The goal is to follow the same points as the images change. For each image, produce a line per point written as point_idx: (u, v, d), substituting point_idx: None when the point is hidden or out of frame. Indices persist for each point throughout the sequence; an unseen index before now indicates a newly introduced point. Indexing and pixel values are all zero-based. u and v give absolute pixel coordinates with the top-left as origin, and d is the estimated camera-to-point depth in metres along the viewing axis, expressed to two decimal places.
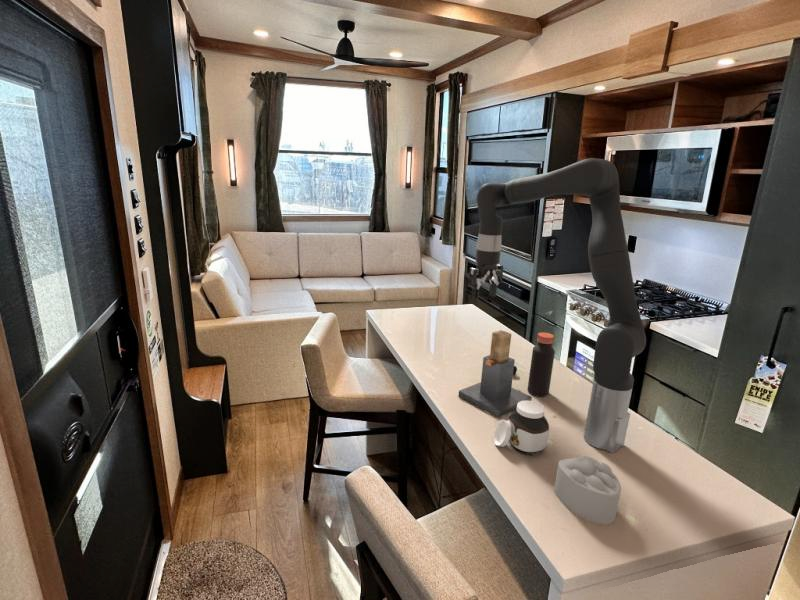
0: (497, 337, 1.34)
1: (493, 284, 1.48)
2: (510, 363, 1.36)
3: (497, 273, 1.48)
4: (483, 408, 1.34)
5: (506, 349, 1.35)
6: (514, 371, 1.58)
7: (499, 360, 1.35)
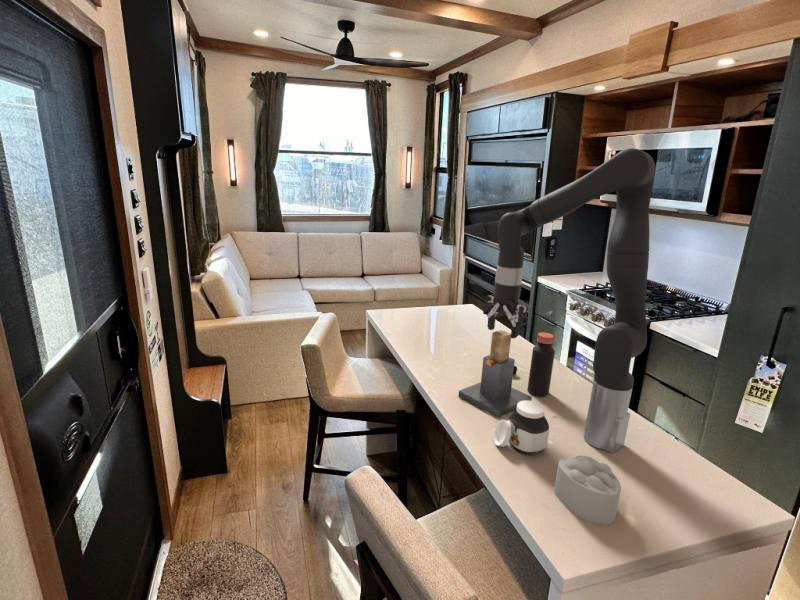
0: (497, 337, 1.34)
1: (493, 317, 1.37)
2: (510, 363, 1.36)
3: (489, 304, 1.37)
4: (483, 408, 1.34)
5: (506, 349, 1.35)
6: (514, 371, 1.59)
7: (499, 360, 1.35)
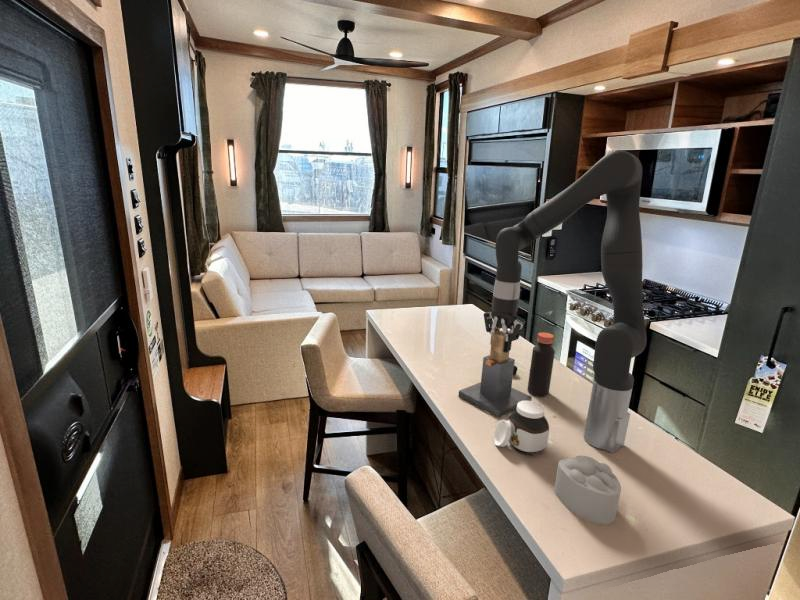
0: (497, 337, 1.34)
1: None
2: (510, 363, 1.36)
3: (490, 321, 1.38)
4: (483, 408, 1.34)
5: None
6: (515, 371, 1.59)
7: (499, 360, 1.35)
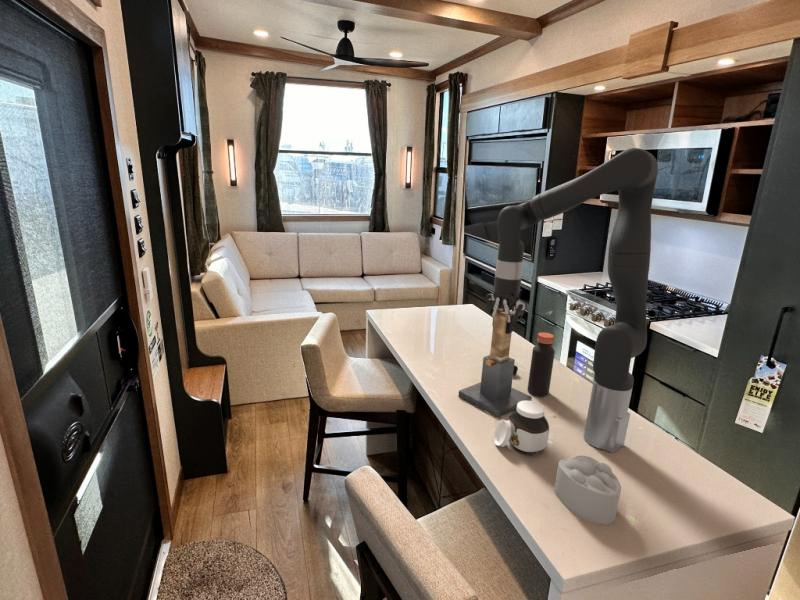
0: (499, 318, 1.32)
1: None
2: (510, 363, 1.36)
3: (492, 303, 1.36)
4: (483, 408, 1.34)
5: None
6: (515, 371, 1.59)
7: (501, 342, 1.33)
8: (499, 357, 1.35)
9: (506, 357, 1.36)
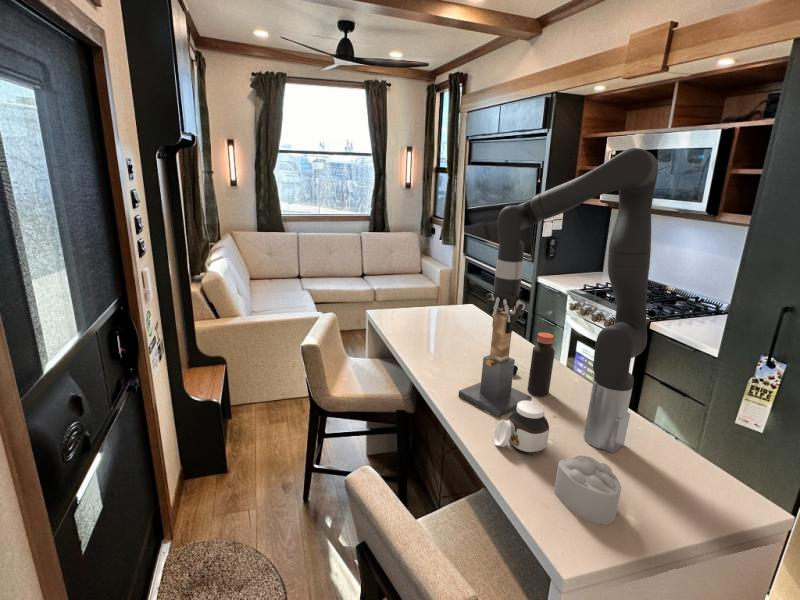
0: (499, 318, 1.32)
1: None
2: (510, 363, 1.36)
3: (492, 303, 1.36)
4: (483, 408, 1.34)
5: None
6: (515, 371, 1.59)
7: (501, 342, 1.33)
8: (499, 357, 1.35)
9: (506, 357, 1.36)
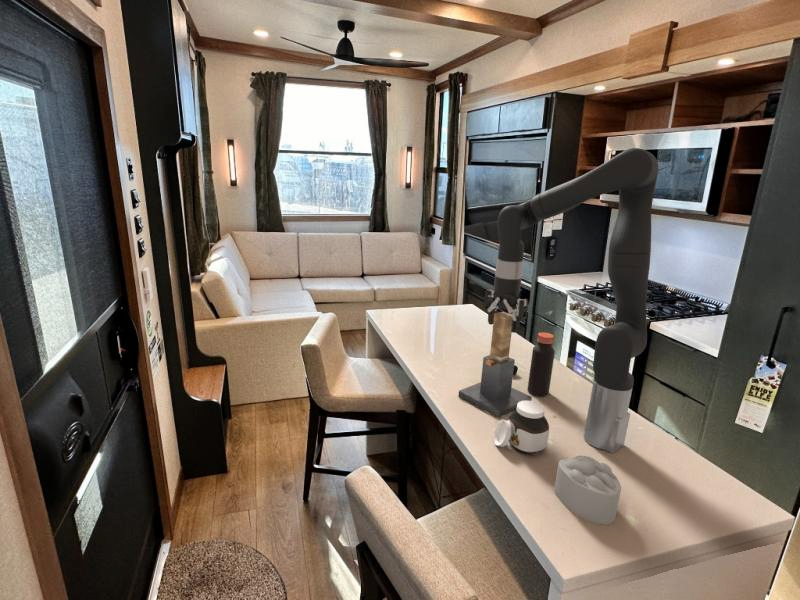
0: (499, 318, 1.32)
1: (493, 311, 1.37)
2: (510, 363, 1.36)
3: (490, 299, 1.37)
4: (483, 408, 1.34)
5: (508, 331, 1.33)
6: (515, 371, 1.59)
7: (501, 341, 1.33)
8: (499, 357, 1.35)
9: (506, 357, 1.36)
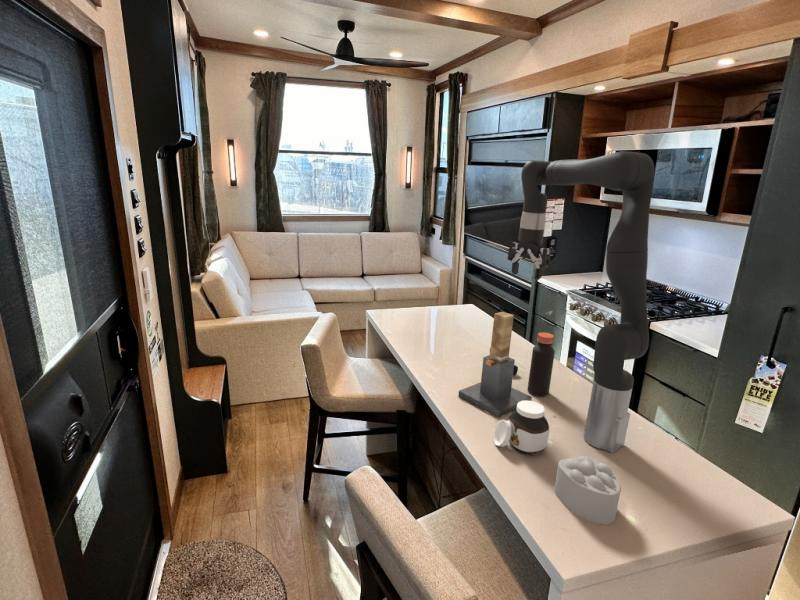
0: (499, 318, 1.32)
1: (517, 262, 1.48)
2: (510, 363, 1.36)
3: (513, 251, 1.48)
4: (483, 408, 1.34)
5: (508, 331, 1.33)
6: (515, 371, 1.59)
7: (501, 341, 1.33)
8: (499, 357, 1.35)
9: (506, 357, 1.36)
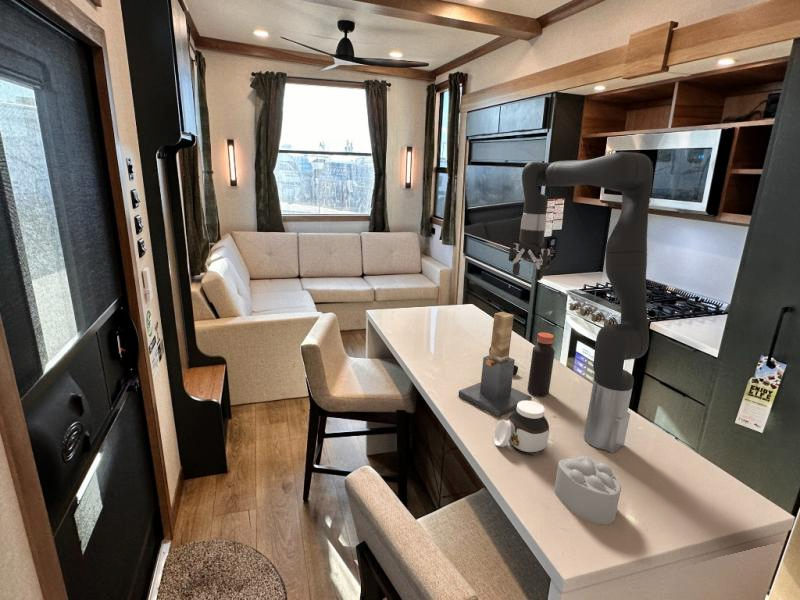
0: (499, 318, 1.32)
1: (518, 263, 1.49)
2: (510, 363, 1.36)
3: (514, 252, 1.49)
4: (483, 408, 1.34)
5: (508, 331, 1.33)
6: (516, 371, 1.59)
7: (501, 341, 1.33)
8: (499, 357, 1.35)
9: (506, 357, 1.36)
